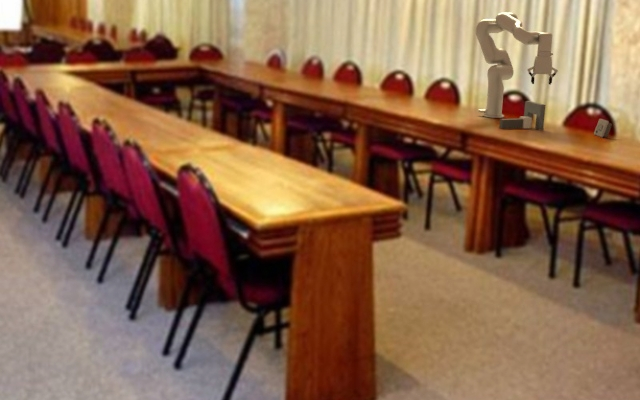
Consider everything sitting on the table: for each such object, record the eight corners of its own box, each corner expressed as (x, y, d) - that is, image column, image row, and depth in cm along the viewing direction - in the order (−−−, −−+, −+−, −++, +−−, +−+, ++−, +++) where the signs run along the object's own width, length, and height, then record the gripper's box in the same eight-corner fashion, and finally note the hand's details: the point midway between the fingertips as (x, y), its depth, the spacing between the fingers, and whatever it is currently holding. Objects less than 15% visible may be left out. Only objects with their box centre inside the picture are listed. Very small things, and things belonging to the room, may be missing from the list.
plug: (502, 128, 489) (503, 118, 488) (498, 127, 494) (499, 117, 492) (531, 128, 496) (531, 117, 494) (526, 126, 500) (527, 116, 499)
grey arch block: (538, 129, 491) (541, 105, 488) (523, 124, 506) (525, 101, 502) (543, 129, 492) (545, 104, 489) (527, 124, 507) (529, 100, 503)
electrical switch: (593, 134, 480) (596, 118, 478) (601, 135, 481) (605, 119, 479) (601, 137, 472) (604, 120, 469) (610, 138, 473) (613, 121, 470)
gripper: (557, 54, 502) (554, 83, 507) (527, 53, 503) (525, 82, 507) (560, 55, 495) (557, 85, 499) (529, 54, 496) (527, 84, 500)
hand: (541, 84), depth 503 cm, fingers open, 9 cm apart
